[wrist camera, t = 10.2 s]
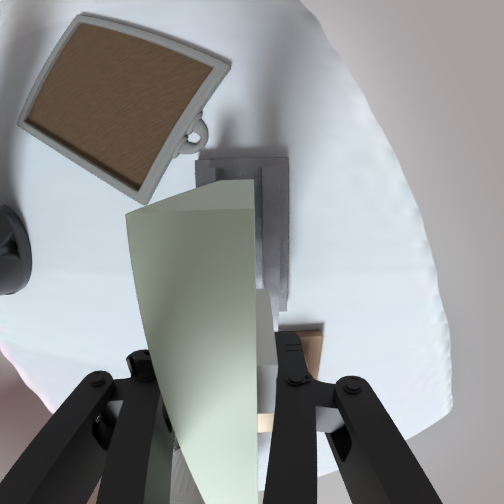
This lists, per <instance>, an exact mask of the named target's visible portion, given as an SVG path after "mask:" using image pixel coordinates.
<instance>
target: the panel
mask: <svg viewBox="0 0 504 504" xmlns="http://www.w3.org/2000/svg"><path fill="white" fill-rule="evenodd" d="M125 217H126V226H127V235H128V243H129V251H130V258H131V264H132V271H133V277H134V283H135V288H136V294H137V299H138V304H139V309H140V314H141V319H142V323H143V328H144V332H145V336H146V340H147V345H148V348H149V352H150V356H151V360H152V364H153V367H154V371H155V374H156V378H157V381H158V385H159V388H160V391H161V394H162V398H163V401H164V404H165V407H166V410H167V413H168V416H169V418H170V421H171V424H172V427H173V430H174V432H175V435H176V438H177V440H178V443H179V445H180V448H181V450H182V453H183V455H184V458H185V460H186V463H187V465H188V467H189V470H190V472H191V474H192V476H193V479H194V481H195V483H196V485H197V487H198V489H199V491H200V493H201V496H202V498H203V500H204V502H205V504H258V414H257V345H256V262H255V205H254V179H249V180H220V181H217V182H214V183H211V184H207V185H204V186H201V187H198V188H195V189H192V190H189V191H186V192H184V193H181V194H178V195H175V196H172V197H169V198H166V199H164V200H161V201H158V202H155V203H153V204H150V205H147V206H145V207H142V208H140V209H137V210H134V211H132V212H129V213H127V214H125Z"/></svg>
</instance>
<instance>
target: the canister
mask: <svg viewBox="0 0 504 504" xmlns="http://www.w3.org/2000/svg"><path fill="white" fill-rule="evenodd" d="M170 504H205V502H204V500H203V498H202V496H201V493H200V491H199V489H198V487H197V485H196V483H195V481H194V479H193V476H192V474H191V472H190V470H189V467H188V465H187V463H186V460H185V458H184V455H183V453H182V450H181V448H179V449H177V450H176V451H175V452H174V453H173V458H172V472H171V489H170Z"/></svg>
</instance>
